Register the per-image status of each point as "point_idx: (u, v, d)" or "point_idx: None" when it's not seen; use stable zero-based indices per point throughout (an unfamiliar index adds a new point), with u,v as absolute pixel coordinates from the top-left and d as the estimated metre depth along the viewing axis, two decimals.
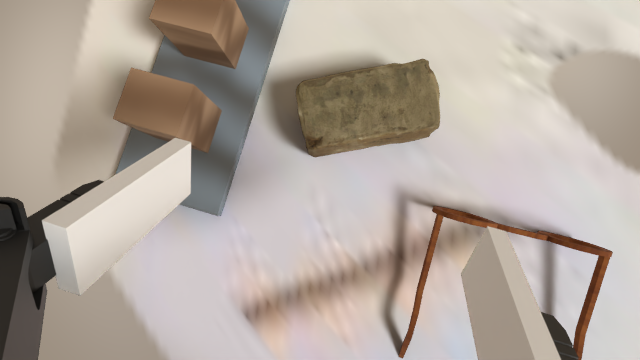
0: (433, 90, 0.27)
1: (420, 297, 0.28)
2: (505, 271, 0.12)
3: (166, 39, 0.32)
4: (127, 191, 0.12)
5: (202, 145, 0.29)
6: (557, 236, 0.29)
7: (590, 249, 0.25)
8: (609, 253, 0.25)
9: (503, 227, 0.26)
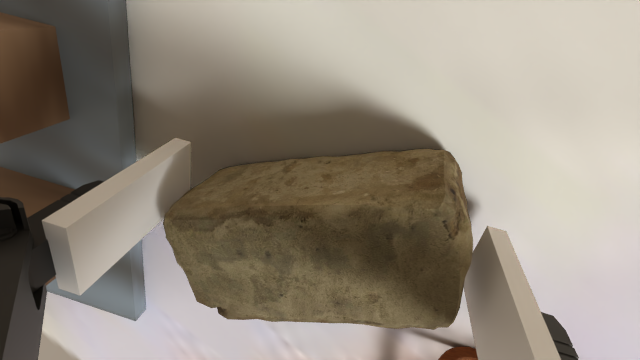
0: (454, 273, 0.11)
1: None
2: (505, 271, 0.12)
3: None
4: (127, 191, 0.12)
5: None
6: None
7: None
8: None
9: None
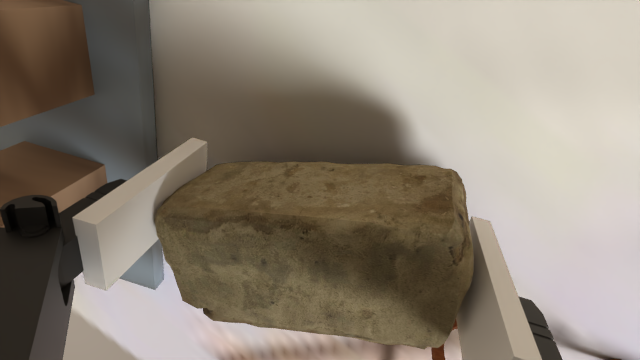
0: (452, 297, 0.11)
1: None
2: (486, 258, 0.12)
3: None
4: (150, 189, 0.12)
5: None
6: None
7: None
8: None
9: None
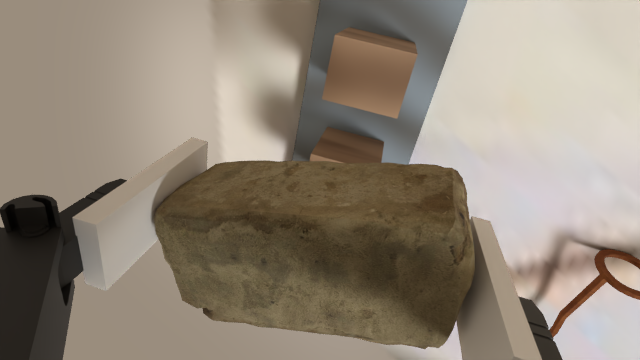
0: (453, 297, 0.11)
1: (562, 321, 0.33)
2: (486, 258, 0.12)
3: (313, 60, 0.28)
4: (150, 189, 0.12)
5: None
6: None
7: None
8: None
9: None
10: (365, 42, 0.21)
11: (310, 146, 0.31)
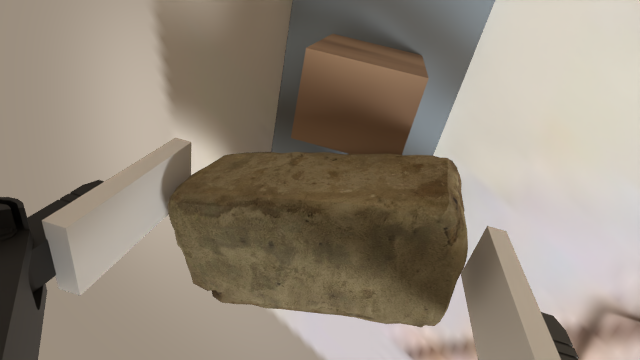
0: (447, 276, 0.12)
1: None
2: (505, 271, 0.12)
3: (287, 76, 0.21)
4: (127, 191, 0.12)
5: None
6: None
7: None
8: None
9: None
10: (351, 59, 0.14)
11: None
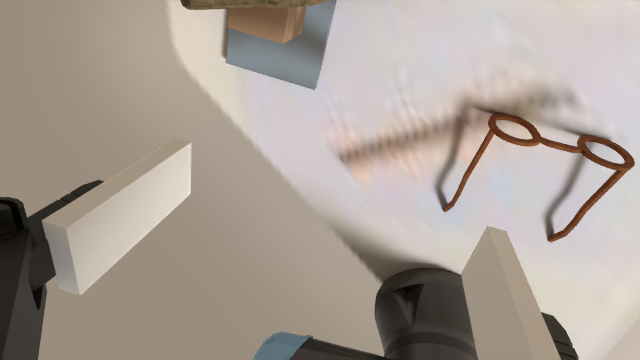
0: None
1: (465, 182, 0.38)
2: (505, 271, 0.12)
3: None
4: (127, 191, 0.12)
5: (297, 32, 0.33)
6: (597, 140, 0.34)
7: (612, 166, 0.31)
8: (629, 168, 0.31)
9: (545, 142, 0.32)
10: None
11: None
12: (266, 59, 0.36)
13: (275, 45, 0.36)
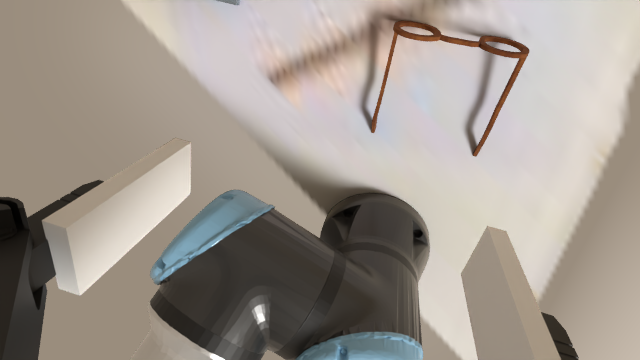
0: None
1: (382, 94, 0.39)
2: (505, 271, 0.12)
3: None
4: (127, 191, 0.12)
5: None
6: (499, 39, 0.36)
7: (505, 53, 0.32)
8: (521, 55, 0.33)
9: (444, 38, 0.34)
10: None
11: None
12: None
13: None
